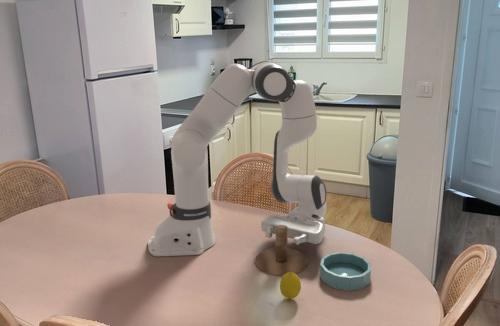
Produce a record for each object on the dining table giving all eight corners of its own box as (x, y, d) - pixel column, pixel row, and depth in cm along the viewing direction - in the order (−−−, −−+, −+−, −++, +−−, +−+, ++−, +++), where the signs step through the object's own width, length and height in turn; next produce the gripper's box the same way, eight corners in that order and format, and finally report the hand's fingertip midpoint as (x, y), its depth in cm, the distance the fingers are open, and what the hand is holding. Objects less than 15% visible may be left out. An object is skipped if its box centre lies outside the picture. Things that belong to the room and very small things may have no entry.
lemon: (299, 306, 114) (300, 279, 112) (278, 303, 115) (278, 276, 113) (301, 294, 119) (302, 267, 117) (281, 291, 120) (281, 266, 118)
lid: (263, 280, 126) (263, 242, 123) (249, 254, 141) (249, 219, 138) (315, 272, 130) (316, 235, 127) (296, 247, 145) (297, 214, 142)
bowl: (333, 293, 119) (333, 280, 118) (313, 268, 132) (313, 256, 131) (379, 285, 122) (380, 273, 121) (355, 261, 135) (356, 249, 134)
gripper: (271, 207, 149) (251, 222, 137) (329, 219, 139) (312, 236, 128) (271, 224, 151) (251, 240, 139) (328, 237, 141) (311, 255, 129)
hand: (281, 238), depth 133 cm, fingers open, 8 cm apart
